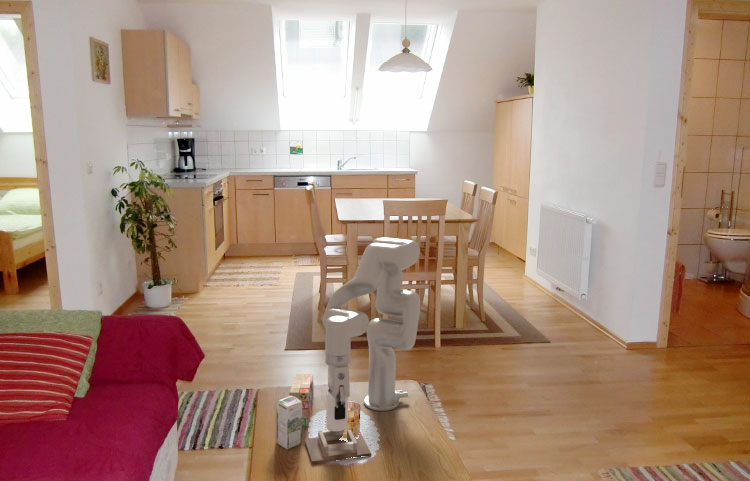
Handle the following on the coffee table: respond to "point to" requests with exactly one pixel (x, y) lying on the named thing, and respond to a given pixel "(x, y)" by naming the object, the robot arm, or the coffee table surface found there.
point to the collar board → (335, 447)
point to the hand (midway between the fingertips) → (337, 413)
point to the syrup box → (289, 422)
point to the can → (330, 414)
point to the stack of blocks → (303, 394)
